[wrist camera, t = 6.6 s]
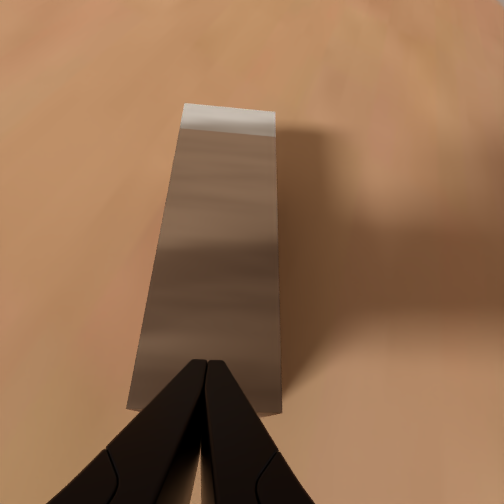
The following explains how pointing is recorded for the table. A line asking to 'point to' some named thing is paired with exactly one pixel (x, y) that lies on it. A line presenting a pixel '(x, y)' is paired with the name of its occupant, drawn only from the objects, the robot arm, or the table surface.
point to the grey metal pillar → (217, 260)
